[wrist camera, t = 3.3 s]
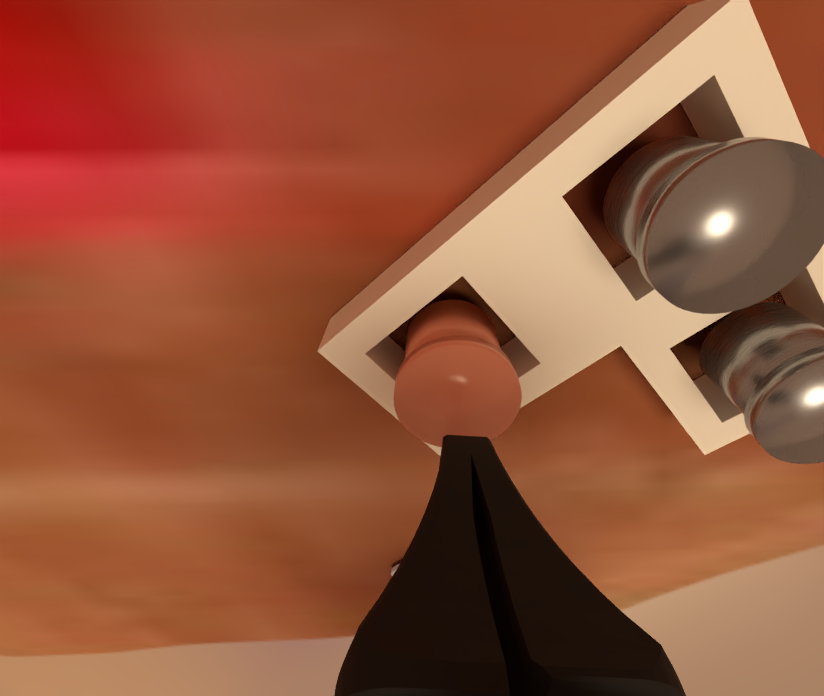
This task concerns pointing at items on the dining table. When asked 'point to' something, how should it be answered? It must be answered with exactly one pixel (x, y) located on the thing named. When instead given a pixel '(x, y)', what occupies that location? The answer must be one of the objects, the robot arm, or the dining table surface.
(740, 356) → the metal plug
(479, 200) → the socket block
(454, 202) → the dining table surface
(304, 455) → the dining table surface
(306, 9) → the dining table surface
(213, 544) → the dining table surface
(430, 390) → the terracotta plug
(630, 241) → the metal plug
